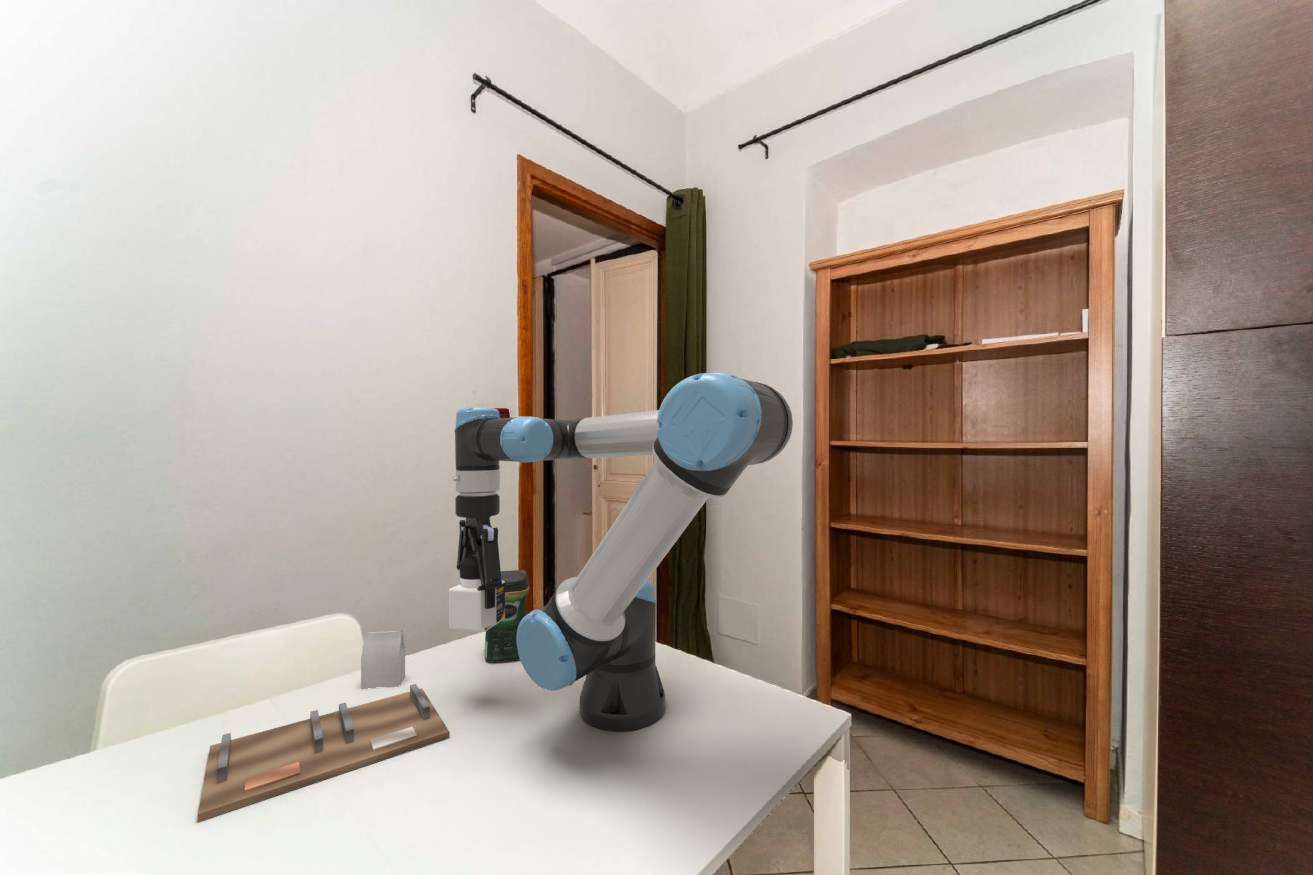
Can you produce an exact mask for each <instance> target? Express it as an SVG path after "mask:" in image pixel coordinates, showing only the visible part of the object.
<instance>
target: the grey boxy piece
mask: <svg viewBox="0 0 1313 875" xmlns="http://www.w3.org/2000/svg"><path fill="white" fill-rule="evenodd" d="M404 640H405V639H404V634H403V630H392V631H391V630H389V631H374V632H373V631H372V632H370V631H369V632H365V633H364V638H363V644H362V650H361V657H360V690H368V688H371V689H377V688H376V687H386V688H397V687H398V688H399V687H400V686H401V684H402V683H403V682H404V680H405V679H406V646H405V642H404ZM404 678H405V679H404ZM401 682H402V683H401ZM399 685H400V686H399Z"/></svg>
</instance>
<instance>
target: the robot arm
mask: <svg viewBox="0 0 1313 875" xmlns="http://www.w3.org/2000/svg"><path fill="white" fill-rule="evenodd" d="M455 414H456V415H455V427H454V431H453V432H454V448H455V450H454V452H455V453H454V456H455V475H453V476H452V481H453V482H455V492H456V493H458V495H456V496H455V498H454V500H455V515H456V516H457V517H458V518H463V519H460V520H459V522H458V525H459V535H458V536H459V537H458V548H457V561H456V569H457V571H459V574H460V562H461V560H463V559H465V558H467V557H470V556H476V557H477V563H478V569H479V575H480V581H481V586H479V587H478V588H477V590H478V591H479V627H480V628H485V627H489V626H494V625H496V588H497V587H499V586H501V585H502V579H501V571H502V570H501V569H502V568H501V562H500V561H501V559H500V549H499V528H498V527H492V524H491V517H495V516H497V515H499V514H500V505H501V504H500V502H501V501H500V498H501V497H500V495H499V494H498V493H497V492H499V491H500V490H501V488H500V487H501V470H500V468H501V465H500V462H512V463H513V462H516V463H517V462H518V463H522V464H523V463H533V462H534V463H535V462H539V461H540V462H541V461H555V460H557V461H559V460H561V461H562V460H573V461H575V460H576V461H577V460H584V459H586V460H587V459H595V458H597V459H598V458H621V457H623V458H624V457H640V456H643V457H644V456H654V457H653V458H654V460H655V461H654V462H653V464H652V466H651V467H650V468H649V470H648V472H647V473H646V474H645V476H644V477H643V479H642V481H641V482H640V483H639V485H638V486H637V487H636V490H634V492H633V494H632V495H631V497H630V498H629V499H628V501H627V503H626V504H625V505H624V507H623V508H622V510H621V512H620V513H619V515H618V516H617V517H616V519H615V520H614V522H612V525H611V526H610V528H608V530H607V531H606V534H605V535H604V537H603V538H602V539H601V541H600V542H599V544H598V546H597V547H596V549H595V550H594V552H592V554H591V556H590V558H588V560H587V562H586V564H585V565H584V566H583V568H582V570H581V571H580V573H579V574H578V575H577V576H574V577H573V576H572V577H569V578H567V579H565V580H564V581H562V582H561V583H560V584H559V585H558V587H557V589H555V591H554V593H553V595H552V596H551V597H550V599H549V600H548V602H547V604H546V605H545V606H543V607H542V608H540V609H534V610H531V611H530V612H529V613H526V614H527V615H526V616H524V617H523V619H522V620H521V621H520V623H519V626H518V629H517V637H516V641H517V648H518V654H519V658H520V659H519V660H520V663H521V664H522V667H523V670H524V671H525V673H526V674H527V676H528V677H529V678H530V679H531V681H532V682H533V683H534V684H536V685H537V686H538V687H540V688H542V689H544V690H545V689H546V690H547V691H551V692H552V691H553V692H554V691H559V690H562V689H564V688H566V687H570V686H573V684H575V682H577V681H579V680H580V679H582V678H584V677H585V678H584V682H583V686H582V688H581V692H580V693H579V700H578V701H579V707H578V709H579V715H580V716H581V718H582V719H583V721H585V723H587V724H588V725H591V726H592V727H595V728H598V729H601V730H606V731H614V732H621V731H622V732H624V731H625V732H626V731H634V730H639V729H642V728H646V727H648V726H651V725H652V724H654V723H656V722H658V720H659V719H661V718H662V716H664V713H665V711H666V693H665V689H664V686H663V684H662V683H663V682H662V680H661V676H660V673H659V671H658V667H657V665H656V664H657V663H656V618H657V617H656V613H657V612H656V609H657V608H656V606H657V605H656V604H657V599H656V588H655V584H654V583H653V581H651V580H650V578H651V576H652V574H653V573H654V572H655V570H656V569H657V568H658V567H659V566H660V564H661V563H662V561H663V559H664V558H665V557H666V556H667V554H668V553H669V552H670V550H671V549H672V547H673V546H674V545H675V543H677V541H678V540H679V538H680V537H681V536H682V534H683V533H684V531H685V530H686V529H687V527H688V526H689V525H690V523H691V522H692V521H693V519H694V518H695V516H696V515H697V514H698V512H699V511H700V509H701V508H702V507H703V505H704V504H705V503H706V502H707V500H708V499H717V498H718V499H719V498H723V497H725V496H726V494H727V493H728V492H729V491H730V489H731V488H732V486H733V485H734V484H735V483H736V481H737V480H738V479H739V477H740V476H741V474H743V472H744V471H745V470H746V468H747V467H748V466H753V465H759V464H764V463H766V462H769V461H771V460H773V458H776V457H777V456H778V455H779V454H780V453H781V452H782V451H783V450H784V449H785V448H786V446H787V445H788V443H789V441H790V439H791V436H792V433H793V427H794V426H793V425H794V421H793V414H792V411H791V407H790V405H789V404H788V401H787V400H786V399H785V397H784V396H783V395H782V394H781V393H780V392H779V391H777V390H776V389H775V388H774V387H772V386H770V385H768V384H765V383H762V382H758V381H753V380H747V379H745V378H739V377H738V376H736V375H734V374H730V373H723V372H712V373H711V372H705V373H697V374H694V375H691V376H688V377H686V378H684V379H682V380H681V381H680V382H678V383H677V384H675V385H674V386H673V387H672V388H671V389H670V390H669V391H668V392H667V394H666V396H664V399H663V401H662V402H661V404H660V407H659V409H654V410H646V411H638V412H637V411H636V412H626V413H619V414H608V415H601V416H593V417H592V416H591V417H590V416H589V417H581V418H571V419H554V418H553V419H551V418H541V417H537V416H530V415H529V416H526V415H522V416H521V415H520V416H517V417H500V411H499V410H498V409H497V408H493V407H483V406H482V407H478V406H474V407H460V408H459V409H458V410H457V411H456V413H455ZM464 518H465V519H464ZM491 579H492V580H491ZM490 580H491V581H490Z"/></svg>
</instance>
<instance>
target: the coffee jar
mask: <svg viewBox="0 0 1313 875" xmlns="http://www.w3.org/2000/svg"><path fill="white" fill-rule="evenodd" d="M501 579H502V580H504V581H505V618H504V619H503V620H502V621H500V622H499V623H497V624H496V625H494V626H493V627H491V628H490V629H489V630H487V631H486V632H485V634H484V635H485V638H484V650H483V651H484V653H483V654H484V659H485V660H486V661H488V662H489V663H490V662H491V663H501V662H511V661H516V660H520V658H519V654H518V648H517V641H516V637H517V629H518V626H519V623H520V621H521V620H522V619H523V617H524V616H526V615H527V614H528V613H527V598H528V595H529V591H530V585H529V579H528V574H527V571H526V570H525V569H517V570H516V569H515V570H513V569H512V570H501Z"/></svg>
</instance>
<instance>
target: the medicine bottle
mask: <svg viewBox="0 0 1313 875" xmlns="http://www.w3.org/2000/svg"><path fill="white" fill-rule="evenodd" d="M459 571H460V573H459V582H460V583H459V584H457V585H455V586H453V587H450V588H449V589H448V628H449V629H450V630H455V631H456V630H457V631H469V632H483V633H486V631H487V630H489V629H490V628H491V627H493V626H489V627H485V628H480V627H479V591H478V590H477V588H478V587H479V586H481V581H480V575H479V569H478V563H477V557H476V556H470V557H467V558H465V559H463V560H461V562H460V570H459ZM491 580H492V579H491ZM491 580H490V581H491ZM504 618H505V581H504V580H502V585H501V586H499V587H497V588H496V624H497V623H499V622H500V621H502V620H503V619H504Z"/></svg>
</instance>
